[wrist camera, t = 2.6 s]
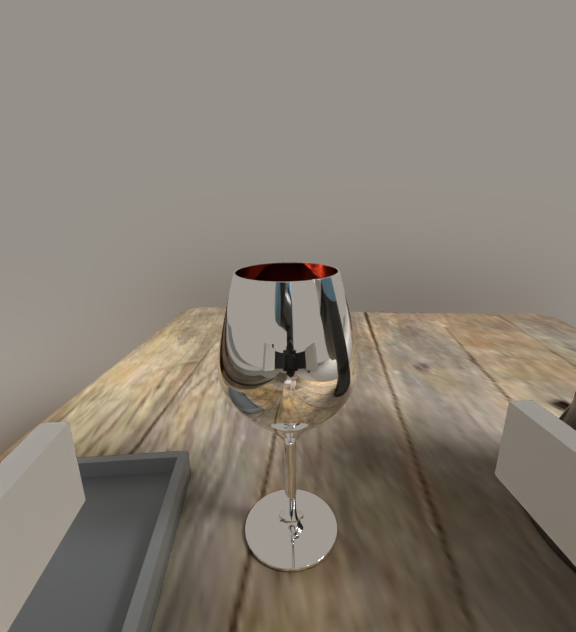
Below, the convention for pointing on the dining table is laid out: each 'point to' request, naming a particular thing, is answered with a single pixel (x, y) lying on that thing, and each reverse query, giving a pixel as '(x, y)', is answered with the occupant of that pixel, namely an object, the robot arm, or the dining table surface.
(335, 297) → the wineglass
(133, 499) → the tray
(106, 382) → the dining table surface
